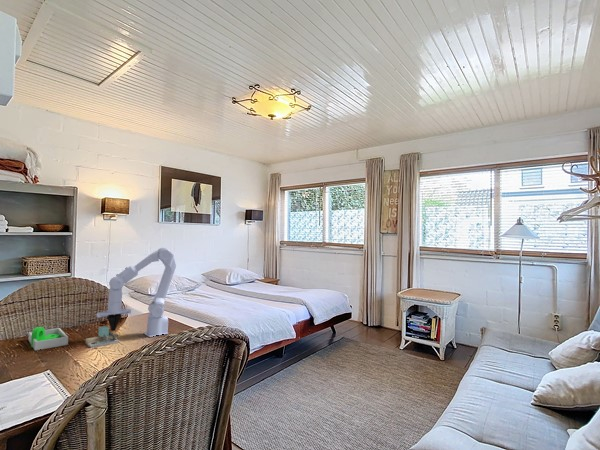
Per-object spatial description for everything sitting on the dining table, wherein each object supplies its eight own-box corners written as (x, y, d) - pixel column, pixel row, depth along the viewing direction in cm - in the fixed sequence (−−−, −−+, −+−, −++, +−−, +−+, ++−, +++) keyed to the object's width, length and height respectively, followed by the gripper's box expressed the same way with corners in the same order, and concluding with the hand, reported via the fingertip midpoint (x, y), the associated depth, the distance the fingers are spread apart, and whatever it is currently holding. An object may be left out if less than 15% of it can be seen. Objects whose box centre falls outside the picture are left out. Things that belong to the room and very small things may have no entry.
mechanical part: (46, 347, 141) (46, 329, 141) (31, 347, 141) (31, 329, 141) (62, 338, 153) (63, 321, 153) (49, 338, 153) (49, 321, 153)
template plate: (115, 339, 154) (115, 337, 154) (118, 342, 151) (119, 340, 151) (87, 345, 146) (87, 342, 146) (90, 348, 142) (90, 345, 142)
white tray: (59, 335, 157) (59, 327, 157) (67, 344, 145) (68, 336, 145) (28, 340, 149) (28, 332, 149) (34, 350, 137) (35, 342, 137)
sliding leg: (106, 335, 155) (106, 325, 155) (111, 339, 150) (111, 329, 151) (98, 337, 153) (98, 326, 153) (102, 341, 148) (103, 330, 148)
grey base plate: (115, 337, 158) (116, 331, 158) (120, 340, 153) (121, 334, 154) (84, 342, 149) (85, 336, 149) (89, 346, 144) (89, 339, 144)
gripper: (128, 298, 164) (126, 325, 164) (95, 302, 154) (93, 331, 153) (133, 301, 159) (131, 329, 159) (99, 304, 149) (97, 334, 148)
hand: (113, 330), depth 156 cm, fingers closed
